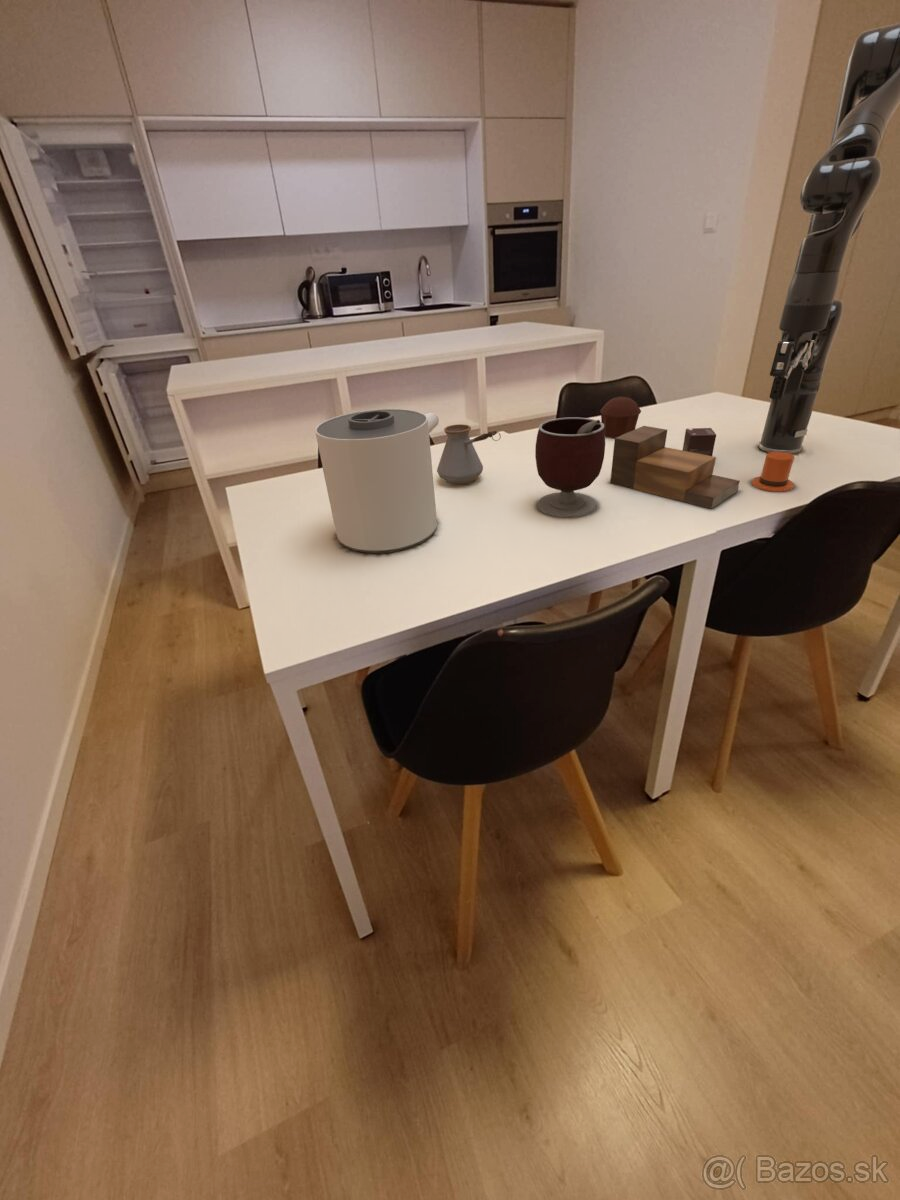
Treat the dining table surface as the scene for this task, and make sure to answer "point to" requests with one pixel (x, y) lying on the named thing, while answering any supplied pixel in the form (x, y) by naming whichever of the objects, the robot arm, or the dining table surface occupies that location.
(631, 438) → the stand
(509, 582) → the dining table surface
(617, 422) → the muffin
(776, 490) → the hat
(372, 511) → the humidifier
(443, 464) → the coffee pot
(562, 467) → the mate gourd
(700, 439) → the box
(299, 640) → the dining table surface
